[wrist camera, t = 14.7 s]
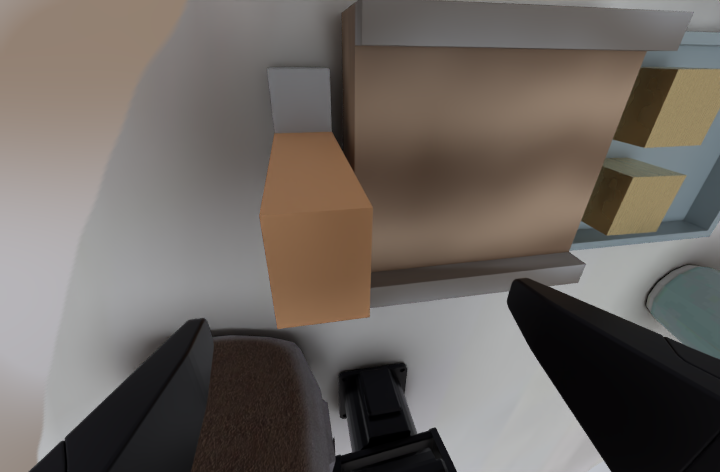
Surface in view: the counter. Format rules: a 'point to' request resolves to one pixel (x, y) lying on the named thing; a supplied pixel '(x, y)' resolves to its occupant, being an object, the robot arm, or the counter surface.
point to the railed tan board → (484, 134)
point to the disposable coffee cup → (690, 307)
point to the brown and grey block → (313, 208)
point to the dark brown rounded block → (263, 410)
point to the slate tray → (676, 162)
